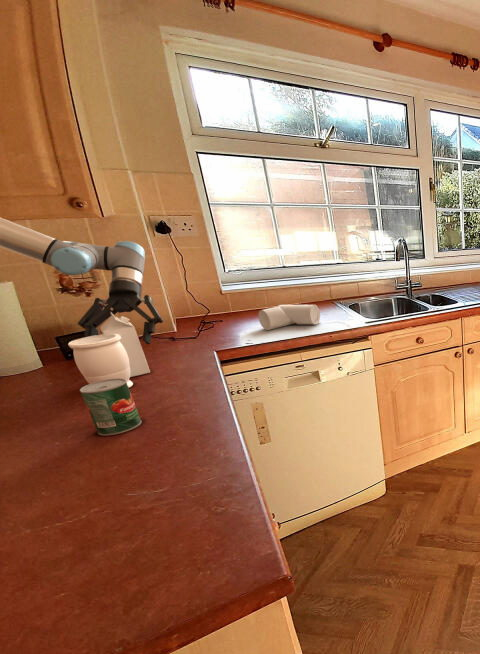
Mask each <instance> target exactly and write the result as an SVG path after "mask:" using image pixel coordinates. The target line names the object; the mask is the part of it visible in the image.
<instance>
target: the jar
mask: <svg viewBox="0 0 480 654" xmlns="http://www.w3.org/2000/svg"><path fill="white" fill-rule="evenodd" d="M120 339H121V337H120V335H119V334H98V335H95V336H89V337H85V336H84V337H81V338H76V339H73V340H71V341H69V342H68V347H69V349H71V350H72V351H73V359H74V362H75V364H76V367H77V368H78V369H77V370H79V372H80V373H81V375H82V376H83V377H84V379H85V381H86V382H87V383H88V384H91V383H94V382H98V381H102V380H108V379H117V378H120V379H125V380H126V383H127V385H128V387H129V389H130V388H131V387H132V386H133V385H134V382H133V381H131V380H130V378H131V377H130V374H131V371H130V366H129V358H128V355H127V352H126V350H125V348H124V347H123V345H122V344H121V343H120V341H119V340H120Z"/></svg>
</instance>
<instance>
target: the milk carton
mask: <svg viewBox="0 0 480 654" xmlns="http://www.w3.org/2000/svg"><path fill="white" fill-rule="evenodd" d="M110 313H111V315H112V316H110V317H109V318H108V319H107V320H105V321H104V322H103V323H102V324H101V325H100V327H99V329H100V331H101V335H103V334H119V335H120V337H121V339H120V340H119V341H120V343H121V344H122V345H123V347H124V348H125V350H126V352H127V355H128V358H129V366H130V371H131V374H130V378H133V377H136V376H141V375H146V374H150V373H151V369H150V367H149V365H148V361H147V358H146V356H145V353H144V349H143V347H142V344H141V341H140V339H139V336H138V333H137V330H136V327H135V326H134V324H132V323H131V322H130V320H131V319H130V318H128V317H125V316H123V315H122V316H120V317H117V316H115V315H113V313H112V312H110Z"/></svg>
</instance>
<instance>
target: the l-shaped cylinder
mask: <svg viewBox="0 0 480 654" xmlns="http://www.w3.org/2000/svg"><path fill="white" fill-rule="evenodd" d="M257 317H258V322H259V323H260V325H261V327H262V328H263V329H264V330H265V331H270V330H274V329H279V328H283V327H286V326H291V325H294V324H296V325H318V324H319V323H320V321H321V320H320V319H321V312H320V307H318V306H317V305H316V304H278V306H273V307H270V308H263V309H260V310H259V311H258V314H257Z"/></svg>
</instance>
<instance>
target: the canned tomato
mask: <svg viewBox="0 0 480 654" xmlns="http://www.w3.org/2000/svg"><path fill="white" fill-rule="evenodd" d="M79 392H80V393H81V397H82V399H83V401H84V403H85V406H86V409H87V410H88V413H89V414H90V417H91V420H92V422H93V424H94V427H95V429H96V431H97V434H98V435H99V436H104V437H105V436H108V437H109V436H115V435H119V434H123V433H126V432H129V431H132V430H134V429H136V428H137V427H139V426H141V424H142V419H141V417H140V414H139V411H138V409H137V407H136V404H135V401H134V399H133V395H132V393H131V390H130V388H129V387H128V385H127V383H126V380H125V379H120V378H117V379H108V380H102V381H98V382H94V383H91V384H89V383H88V384H86V385H84V386H82V387H81V388H80V389H79Z"/></svg>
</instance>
